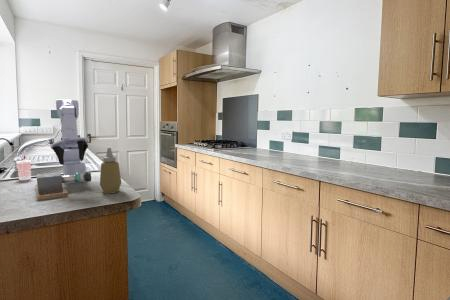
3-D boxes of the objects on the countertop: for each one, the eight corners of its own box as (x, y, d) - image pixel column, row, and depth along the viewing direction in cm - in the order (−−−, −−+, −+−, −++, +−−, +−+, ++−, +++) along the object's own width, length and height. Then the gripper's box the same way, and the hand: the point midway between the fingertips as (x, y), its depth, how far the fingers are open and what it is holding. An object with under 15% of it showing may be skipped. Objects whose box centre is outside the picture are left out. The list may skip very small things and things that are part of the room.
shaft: (89, 181, 120) (88, 170, 119) (91, 183, 116) (91, 171, 115) (49, 186, 111) (48, 174, 111) (50, 188, 107) (49, 176, 107)
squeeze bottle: (100, 195, 105) (98, 149, 103) (99, 190, 112) (97, 147, 110) (122, 193, 108) (121, 148, 106) (120, 188, 115) (118, 146, 113)
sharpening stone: (61, 185, 121) (60, 169, 120) (68, 196, 104) (66, 178, 103) (35, 188, 115) (34, 172, 115) (37, 200, 98) (36, 181, 97)
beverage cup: (34, 177, 137) (32, 150, 136) (30, 179, 131) (28, 151, 130) (19, 178, 135) (17, 150, 134) (15, 180, 129) (12, 151, 128)
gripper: (45, 131, 109) (47, 162, 104) (83, 124, 111) (86, 154, 106) (55, 138, 115) (56, 167, 111) (90, 131, 118) (93, 160, 113)
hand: (71, 161), depth 109 cm, fingers open, 7 cm apart
